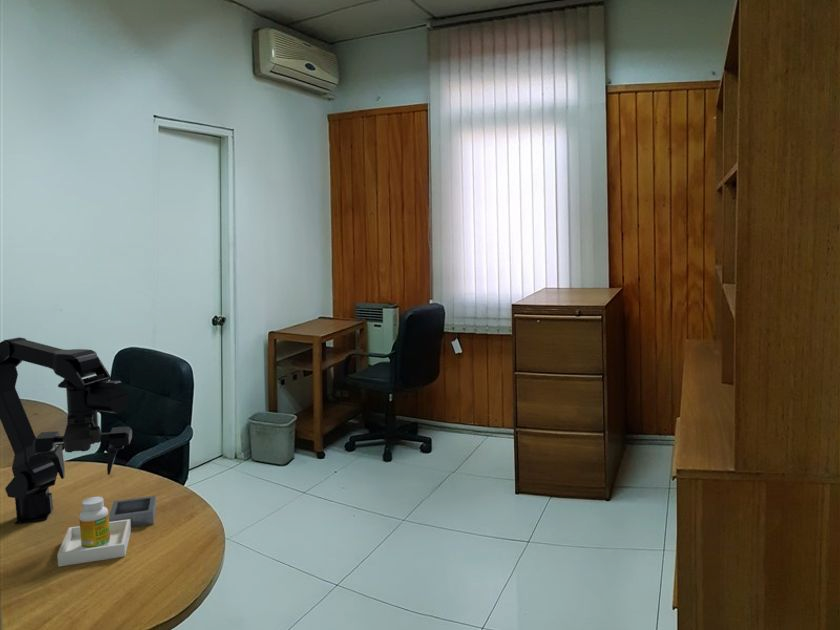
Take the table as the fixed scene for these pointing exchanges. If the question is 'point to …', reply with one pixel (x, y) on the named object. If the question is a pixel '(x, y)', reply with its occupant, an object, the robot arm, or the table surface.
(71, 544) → the tray
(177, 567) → the table surface
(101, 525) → the supplement bottle
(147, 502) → the can holder
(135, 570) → the table surface
